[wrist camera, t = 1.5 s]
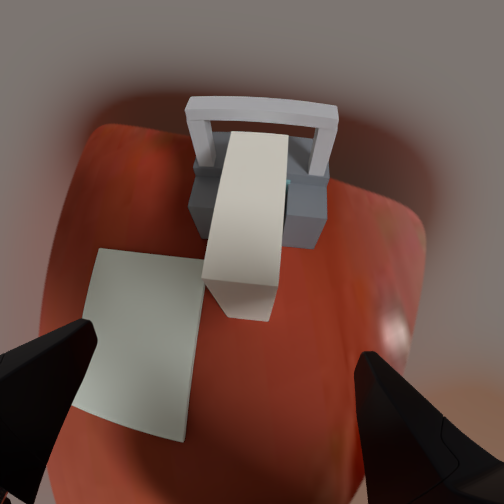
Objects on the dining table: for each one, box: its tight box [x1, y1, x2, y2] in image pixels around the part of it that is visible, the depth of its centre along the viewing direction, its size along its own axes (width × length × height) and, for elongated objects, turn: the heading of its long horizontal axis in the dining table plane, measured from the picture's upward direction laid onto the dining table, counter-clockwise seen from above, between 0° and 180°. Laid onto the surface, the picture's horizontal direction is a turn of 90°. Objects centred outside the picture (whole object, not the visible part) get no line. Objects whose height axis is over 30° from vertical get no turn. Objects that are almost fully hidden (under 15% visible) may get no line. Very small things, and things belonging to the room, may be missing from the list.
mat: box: [72, 248, 205, 442], centre depth 19 cm, size 14×10×1 cm
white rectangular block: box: [201, 131, 288, 322], centre depth 17 cm, size 8×3×10 cm, turn 174°
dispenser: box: [185, 96, 339, 249], centre depth 18 cm, size 6×9×11 cm, turn 83°
